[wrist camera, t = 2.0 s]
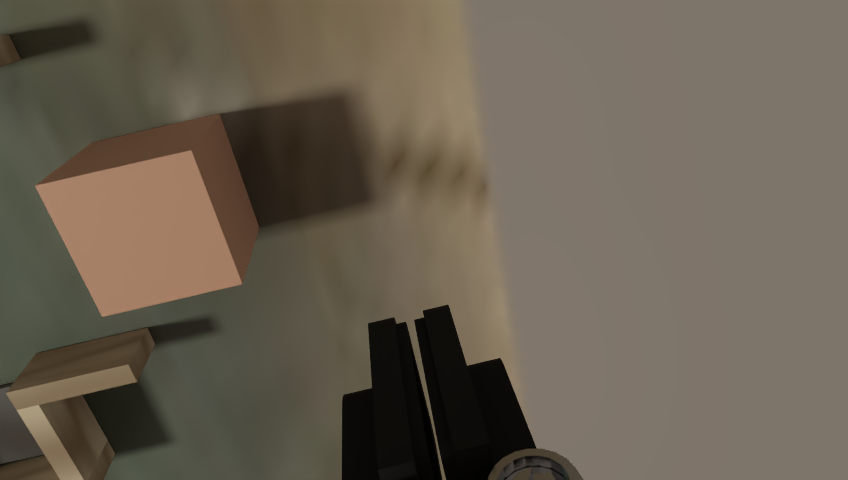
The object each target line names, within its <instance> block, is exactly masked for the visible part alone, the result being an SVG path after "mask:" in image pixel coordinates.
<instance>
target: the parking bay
mask: <svg viewBox="0 0 848 480" xmlns="http://www.w3.org/2000/svg"><path fill="white" fill-rule="evenodd" d="M19 60H21V59H20V57H19V55H18V53H17V50H16V48H15V46H14V44H13V42H12V40H11V38H10V36H9V34H7V35H2V36H0V67H1V66H4V65H7V64H10V63H13V62H16V61H19ZM154 346H155V343H154V341H153V338H152V336H151V334H150V332H149V330H148V328H144V329H139V330H135V331H131V332H127V333H122V334H118V335H114V336H109V337H105V338H101V339H96V340H92V341H88V342H84V343H79V344H75V345H71V346H66V347H62V348H58V349H53V350H49V351H45V352H40V353H36V354H35V356H34V357H33V358H32V359H31V361H30V362H29V363H28V365H27V366H26V367H25V369H24V370H23V371H22V372H21V374H20V375H19V376H18V378H17V379H16V380H15V382H14V383H10V384H5V385H1V386H0V464H3V463H7V462H11V461H15V460H20V459H24V458H28V457H32V456H37V455H41V454H44V455H42V456H37V457H33V458H29V459H25V460H21V461H16V462H12V463H8V464H4V465H0V480H103V479H104V477H105V475H106V473H107V471H108V468H109V466H110V464H111V462H112V460H113V458H114V455H115V452H114V451H113V449H112V447H111V445H110V443H109V442H108V440H107V438H106V436H105V435H104V433H103V431H102V429H101V427H100V426H99V424H98V422H97V420H96V419H95V417H94V415H93V413H92V411H91V410H90V408H89V406H88V404H87V402H86V401H85V399H84V397H83V394H88V393H92V392H96V391H100V390H105V389H109V388H113V387H118V386H122V385H126V384H130V383H135V382H137V381H138V379H139V377H140V375H141V373H142V371H143V369H144V366H145V364H146V362H147V360H148V358H149V356H150V354H151V352H152V350H153V348H154Z"/></svg>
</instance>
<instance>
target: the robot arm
mask: <svg viewBox="0 0 848 480" xmlns="http://www.w3.org/2000/svg"><path fill="white" fill-rule="evenodd" d="M423 314H424V318H420V319H416V320H414V321H415V327H416V332H417V337H418V342H419V347H420V353H421V358H422V363H423V368H424V373H425V379H426V384H427V389H428V394H429V399H430V404H431V410H432V415H433V420H434V425H435V430H436V435H437V441H438V446H439V450H440V455H441V459H442V464H443V468H444V472H445V476H446V480H583V478H582V477H581V475H580V474H579V472H578V471H577V469H576V468H575V467H574V466H573V465H572V464H571V463H570V462H569V460H568V459H567V458H565V457H563V456H561V455H559V454H557V453H556V452H553V451H549V450H545V449H537V448H536V446H535V443H534V441H533V438H532V436H531V433H530V431H529V428H528V425H527V423H526V420H525V418H524V415H523V413H522V410H521V408H520V405H519V403H518V400H517V397H516V395H515V392H514V390H513V387H512V385H511V382H510V380H509V377H508V375H507V372H506V369H505V367H504V364H503V362H502V360H501V359H500V358H498V359H494V360H490V361H485V362H481V363H477V364H473V365H468V366H467V365H466V361H465V358H464V355H463V351H462V348H461V345H460V342H459V338H458V335H457V332H456V328H455V325H454V322H453V318H452V315H451V312H450V308H449V305H445V306H441V307H436V308H432V309H428V310H424V311H423ZM368 330H369V345H370V361H371V376H372V388H371V389H367V390H362V391H358V392H354V393H350V394H345V395H344V396H343V401H342V480H442V475H441V470H440V465H439V459H438V454H437V449H436V443H435V438H434V433H433V429H432V424H431V420H430V416H429V412H428V408H427V404H426V400H425V396H424V392H423V388H422V384H421V380H420V376H419V372H418V368H417V364H416V360H415V356H414V352H413V348H412V344H411V340H410V335H409V331H408V327H407V324H406V322H403V323H399V324H396V321H395V318H394V317H393V318H389V319H385V320H381V321H376V322H372V323H369V324H368Z"/></svg>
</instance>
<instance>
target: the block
mask: <svg viewBox="0 0 848 480" xmlns="http://www.w3.org/2000/svg"><path fill="white" fill-rule="evenodd" d="M35 187H36V188H37V190H38V192H39V194H40V196H41V198H42V200H43V202H44V204H45V206H46V208H47V210H48V212H49V214H50V216H51V218H52V220H53V222H54V224H55V226H56V228H57V229H58V231H59V233H60V235H61V237H62V239H63V241H64V243H65V245H66V247H67V249H68V251H69V253H70V255H71V257H72V259H73V261H74V263H75V265H76V267H77V268H78V270H79V272H80V274H81V276H82V278H83V280H84V282H85V284H86V286H87V288H88V290H89V292H90V294H91V296H92V298H93V300H94V302H95V304H96V306H97V308H98V309H99V311H100V313H101V315H102V317H104V316H108V315H112V314H117V313H121V312H125V311H129V310H134V309H138V308H142V307H147V306H151V305H155V304H159V303H164V302H168V301H172V300H177V299H181V298H185V297H189V296H194V295H198V294H202V293H207V292H211V291H215V290H219V289H224V288H228V287H232V286H237V285H241V284H243V280H244V277H245V274H246V270H247V267H248V264H249V261H250V257H251V254H252V251H253V247H254V244H255V241H256V237H257V234H258V231H259V225H258V223H257V220H256V217H255V214H254V211H253V208H252V205H251V203H250V200H249V197H248V194H247V191H246V188H245V185H244V183H243V180H242V177H241V174H240V171H239V168H238V165H237V162H236V160H235V157H234V154H233V151H232V148H231V145H230V142H229V140H228V137H227V134H226V131H225V128H224V125H223V122H222V120H221V117H220V114H215V115H211V116H207V117H202V118H198V119H193V120H189V121H185V122H180V123H176V124H171V125H167V126H162V127H158V128H154V129H149V130H145V131H140V132H136V133H132V134H127V135H123V136H118V137H114V138H110V139H105V140H101V141H96V142H92V143H91V144H90V145H88V146H87V147H86V148H84V149H83V150H82V151H80V152H79V153H78V154H76V155H75V156H74V157H72V158H71V159H70V160H69V161H67V162H66V163H65V164H63V165H62V166H61V167H59V168H58V169H57V170H55V171H54V172H53V173H51V174H50V175H49V176H47V177H46V178H45V179H43V180H42V181H41V182H39V183H38V184H37V185H35Z"/></svg>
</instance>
